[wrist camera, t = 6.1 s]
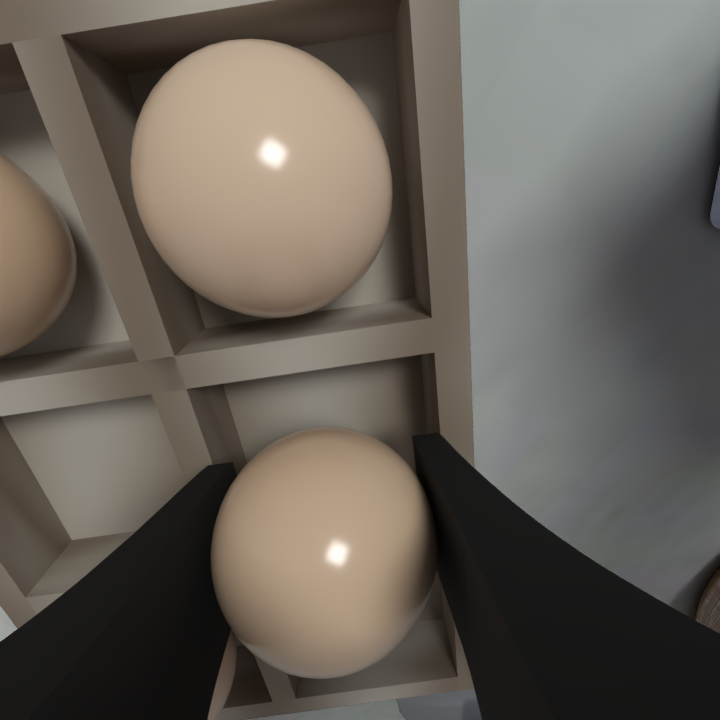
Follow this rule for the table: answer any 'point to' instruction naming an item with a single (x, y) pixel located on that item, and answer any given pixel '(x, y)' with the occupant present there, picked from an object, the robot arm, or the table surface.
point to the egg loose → (324, 552)
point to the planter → (710, 604)
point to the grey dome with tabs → (441, 706)
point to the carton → (218, 324)
